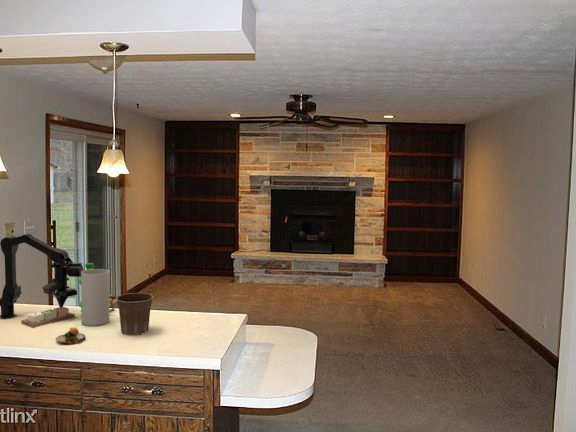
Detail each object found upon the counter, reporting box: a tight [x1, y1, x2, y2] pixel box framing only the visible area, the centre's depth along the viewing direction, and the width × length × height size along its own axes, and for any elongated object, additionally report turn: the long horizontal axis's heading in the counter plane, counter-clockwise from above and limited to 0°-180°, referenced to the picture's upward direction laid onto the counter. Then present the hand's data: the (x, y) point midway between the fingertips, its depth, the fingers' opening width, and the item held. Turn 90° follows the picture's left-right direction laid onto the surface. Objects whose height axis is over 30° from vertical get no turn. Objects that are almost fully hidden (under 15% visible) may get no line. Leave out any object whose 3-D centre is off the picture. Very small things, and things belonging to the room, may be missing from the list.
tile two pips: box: [40, 308, 57, 320], centre depth 242 cm, size 5×5×3 cm
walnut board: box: [20, 312, 76, 329], centre depth 242 cm, size 10×21×2 cm, turn 146°
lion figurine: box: [109, 297, 115, 311], centre depth 257 cm, size 15×5×9 cm, turn 8°
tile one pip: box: [27, 311, 44, 323], centre depth 236 cm, size 5×5×3 cm
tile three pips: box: [53, 306, 70, 317], centre depth 247 cm, size 5×5×3 cm
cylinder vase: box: [80, 268, 110, 327], centre depth 240 cm, size 12×12×25 cm
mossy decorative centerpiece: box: [55, 325, 86, 346], centre depth 214 cm, size 12×12×8 cm
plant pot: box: [115, 292, 154, 336], centre depth 229 cm, size 16×16×16 cm
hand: (61, 307), depth 247 cm, fingers closed
